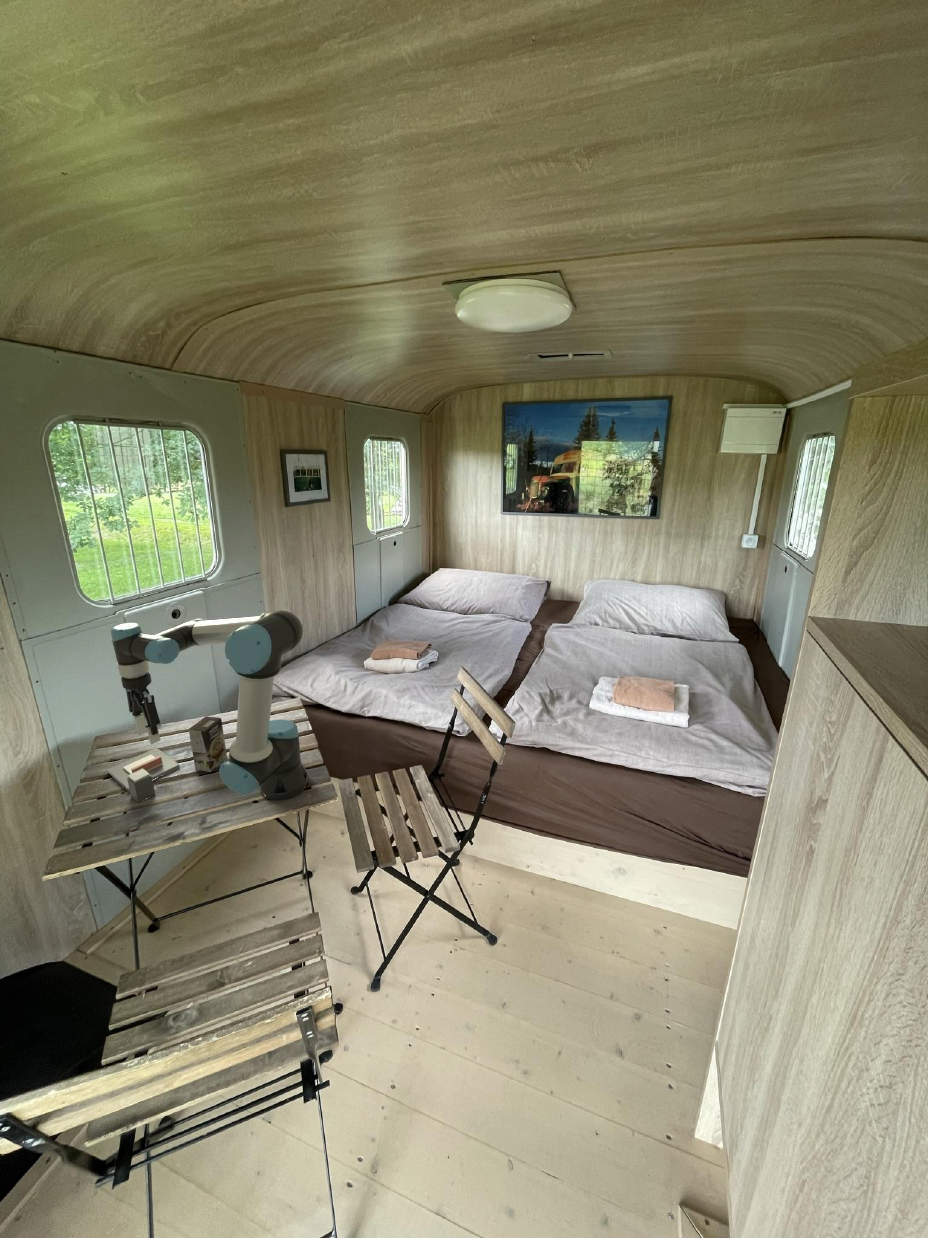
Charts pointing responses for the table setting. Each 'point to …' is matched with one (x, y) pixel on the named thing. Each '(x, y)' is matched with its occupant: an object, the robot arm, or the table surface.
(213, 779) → the table surface
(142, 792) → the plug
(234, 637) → the robot arm
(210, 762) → the coffee box
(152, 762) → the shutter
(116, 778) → the socket plate
